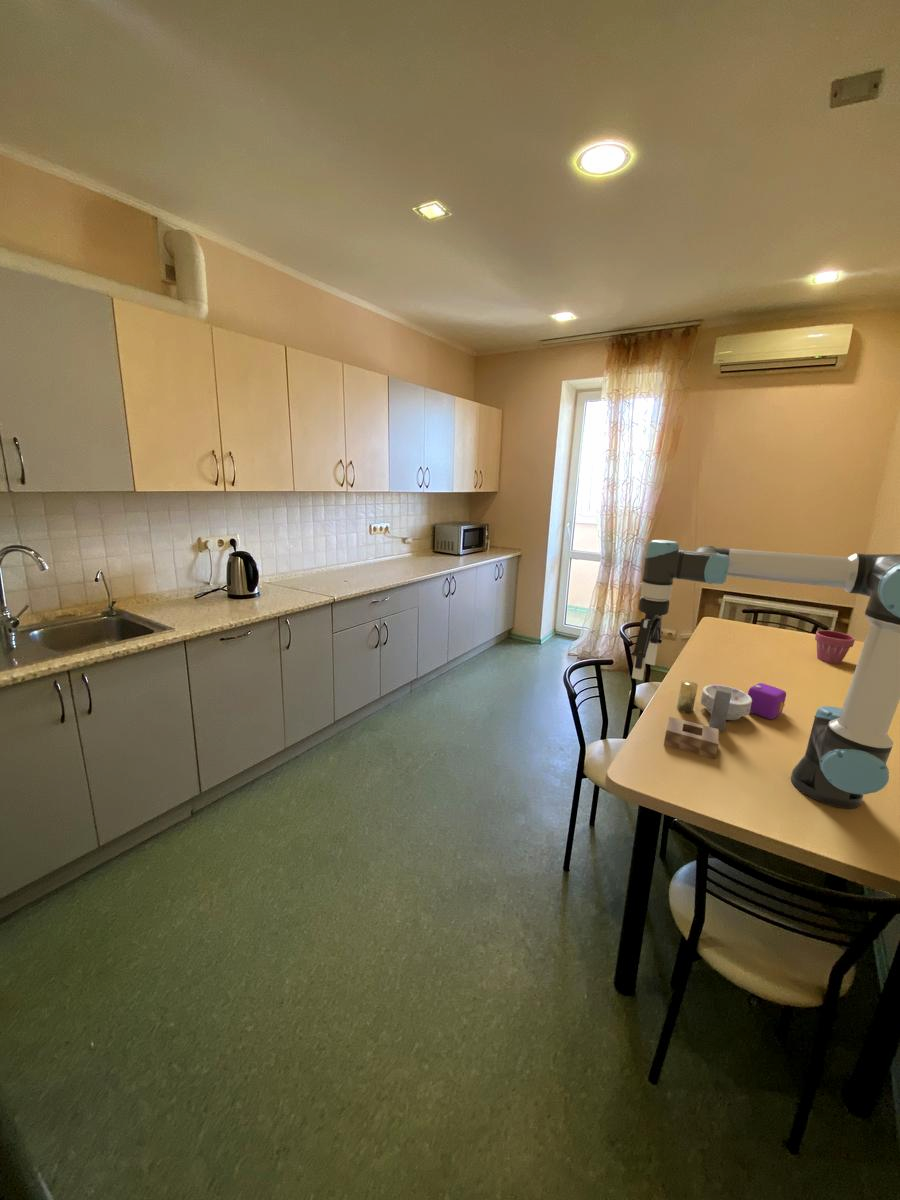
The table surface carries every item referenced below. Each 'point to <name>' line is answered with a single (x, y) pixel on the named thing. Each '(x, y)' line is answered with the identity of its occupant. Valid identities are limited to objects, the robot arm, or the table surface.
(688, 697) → the cylinder
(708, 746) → the bore block
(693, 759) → the table surface
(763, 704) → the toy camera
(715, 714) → the square bit
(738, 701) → the paper bowls
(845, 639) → the plant pot
